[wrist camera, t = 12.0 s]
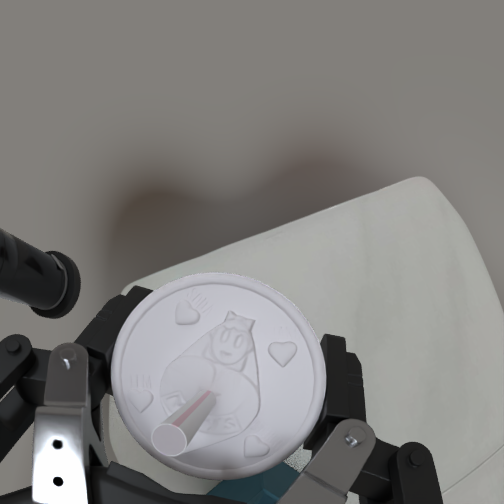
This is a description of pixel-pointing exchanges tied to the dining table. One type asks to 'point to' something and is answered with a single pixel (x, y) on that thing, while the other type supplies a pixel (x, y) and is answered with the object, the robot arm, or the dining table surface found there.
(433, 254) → the dining table surface
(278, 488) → the open storage box
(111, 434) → the dining table surface
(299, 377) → the smoothie
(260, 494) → the flap
